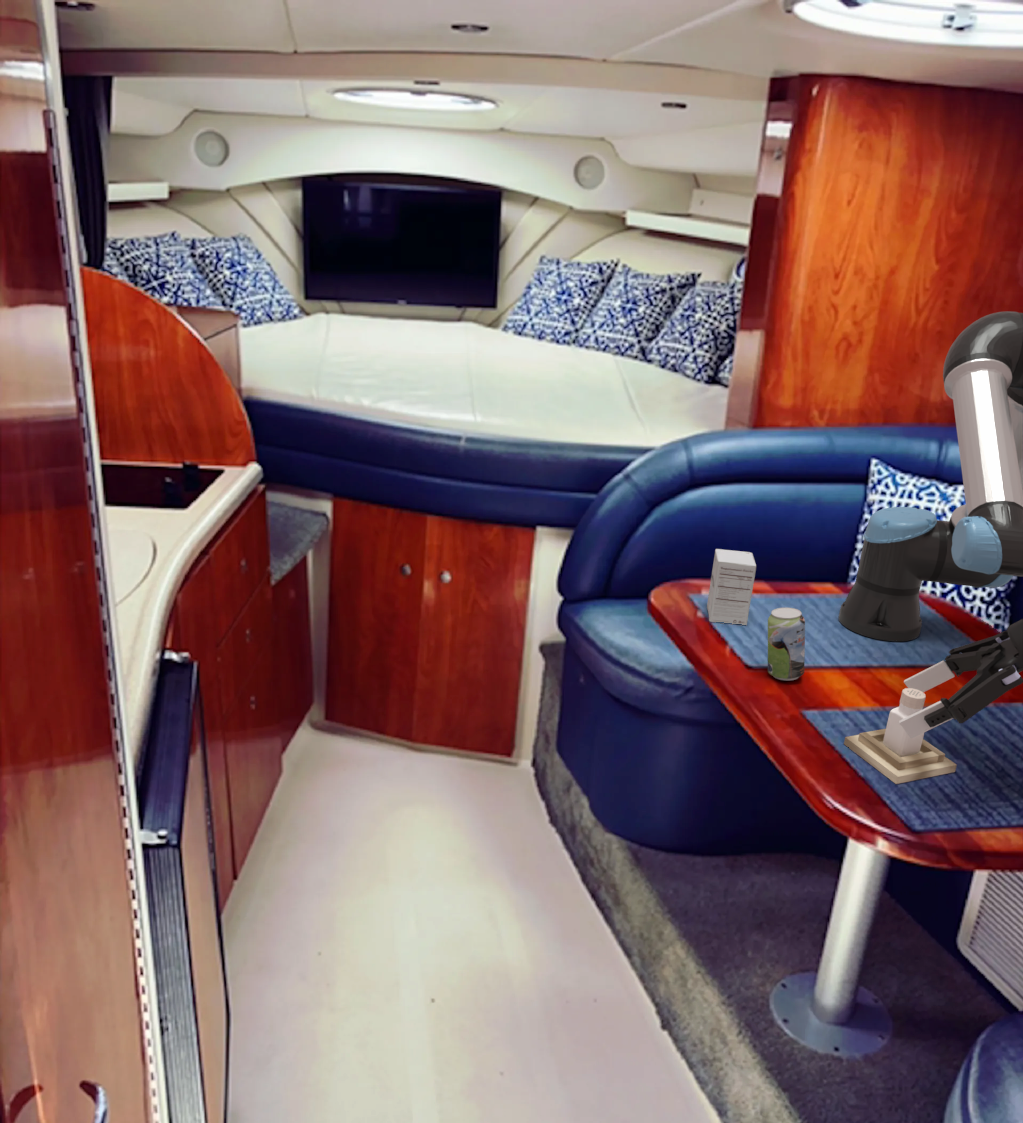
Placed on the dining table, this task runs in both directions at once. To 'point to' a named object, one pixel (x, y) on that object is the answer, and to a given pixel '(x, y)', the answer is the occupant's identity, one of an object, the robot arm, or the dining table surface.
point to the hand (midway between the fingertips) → (907, 708)
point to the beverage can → (786, 643)
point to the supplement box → (731, 586)
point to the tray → (899, 758)
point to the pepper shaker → (894, 732)
